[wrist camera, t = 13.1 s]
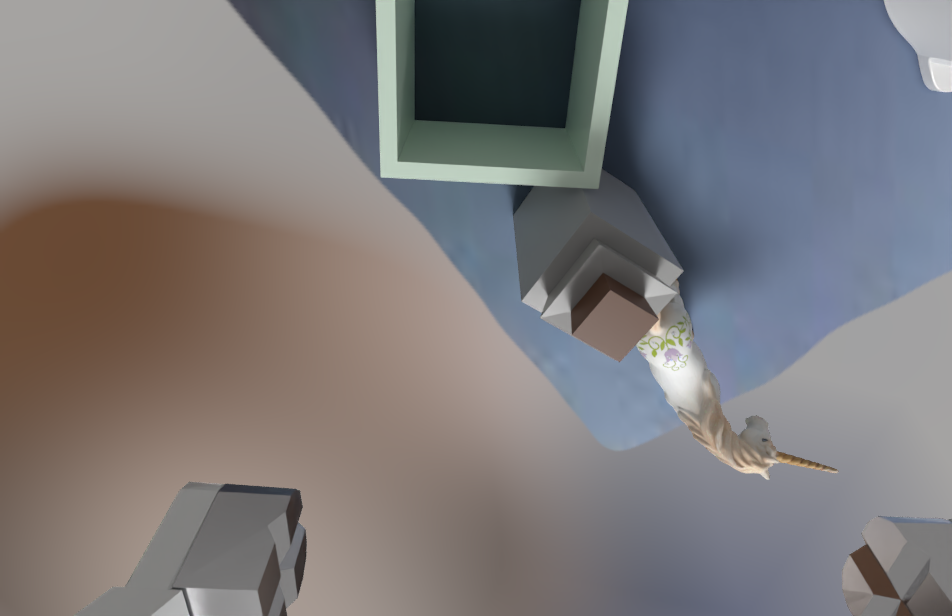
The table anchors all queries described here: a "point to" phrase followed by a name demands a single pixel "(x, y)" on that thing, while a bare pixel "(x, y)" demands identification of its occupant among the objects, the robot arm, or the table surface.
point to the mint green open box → (489, 145)
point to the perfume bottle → (594, 263)
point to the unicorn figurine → (706, 396)
